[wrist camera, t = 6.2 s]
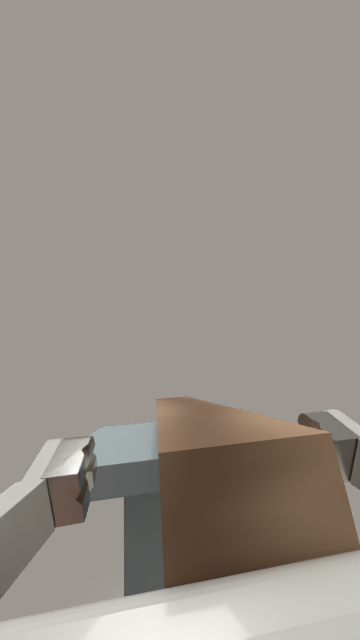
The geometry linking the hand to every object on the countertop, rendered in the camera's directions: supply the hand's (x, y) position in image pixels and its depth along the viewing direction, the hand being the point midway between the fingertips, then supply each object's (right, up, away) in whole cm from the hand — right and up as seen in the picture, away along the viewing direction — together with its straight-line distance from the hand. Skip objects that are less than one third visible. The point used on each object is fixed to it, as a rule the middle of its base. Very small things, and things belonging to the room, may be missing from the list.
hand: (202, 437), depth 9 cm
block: (0, -3, +5) cm, 6 cm away
